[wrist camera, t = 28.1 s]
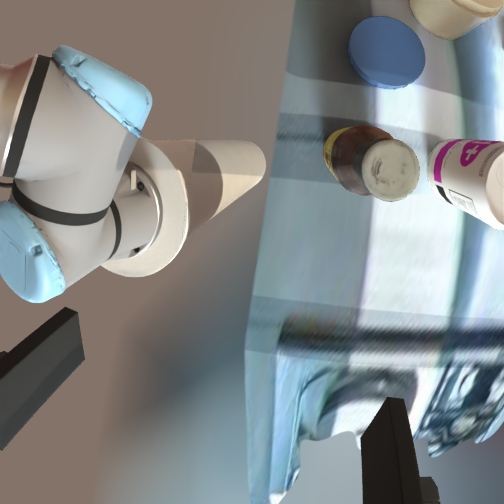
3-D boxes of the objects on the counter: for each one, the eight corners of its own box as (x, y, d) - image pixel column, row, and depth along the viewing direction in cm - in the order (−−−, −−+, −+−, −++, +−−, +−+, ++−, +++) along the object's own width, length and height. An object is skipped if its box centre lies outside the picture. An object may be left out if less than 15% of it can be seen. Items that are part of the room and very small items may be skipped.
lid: (335, 29, 31) (336, 23, 29) (402, 17, 28) (406, 11, 26) (364, 97, 33) (367, 94, 31) (430, 82, 31) (436, 79, 29)
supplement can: (417, 148, 34) (470, 154, 20) (468, 133, 32) (535, 135, 18) (433, 209, 36) (487, 245, 22) (482, 192, 34) (547, 219, 20)
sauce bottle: (312, 155, 37) (312, 167, 19) (344, 117, 35) (376, 93, 16) (352, 190, 37) (388, 236, 19) (384, 153, 35) (449, 167, 17)
